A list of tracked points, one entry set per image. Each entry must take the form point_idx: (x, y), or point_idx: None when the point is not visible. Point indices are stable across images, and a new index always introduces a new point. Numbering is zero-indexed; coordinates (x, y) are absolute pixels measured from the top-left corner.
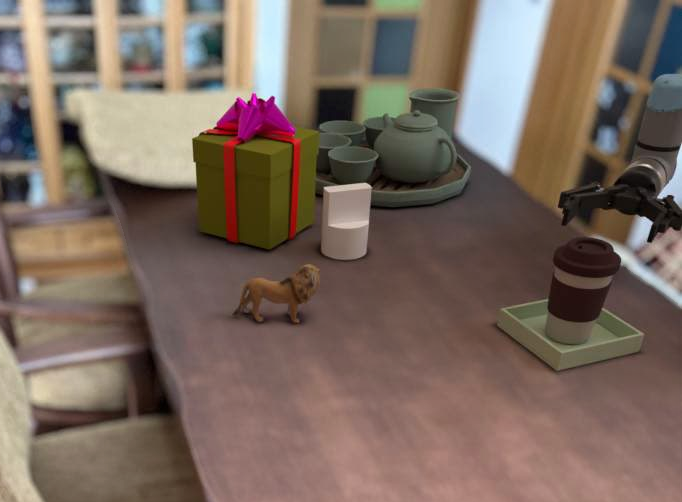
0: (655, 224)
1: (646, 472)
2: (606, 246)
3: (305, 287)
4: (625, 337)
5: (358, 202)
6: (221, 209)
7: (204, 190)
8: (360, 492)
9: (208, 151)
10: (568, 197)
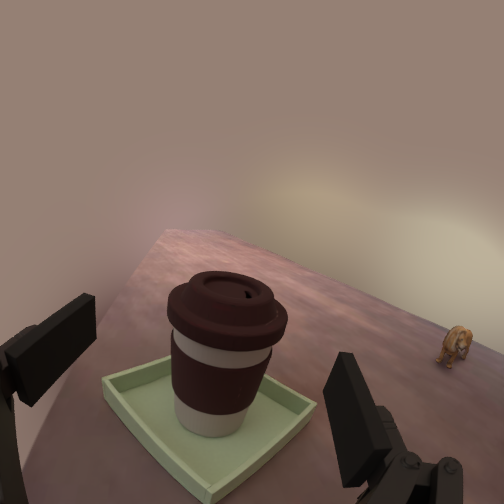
0: (83, 297)
1: (143, 283)
2: (203, 284)
3: (447, 334)
4: (131, 369)
5: None
6: None
7: None
8: (282, 277)
9: None
10: (422, 471)
